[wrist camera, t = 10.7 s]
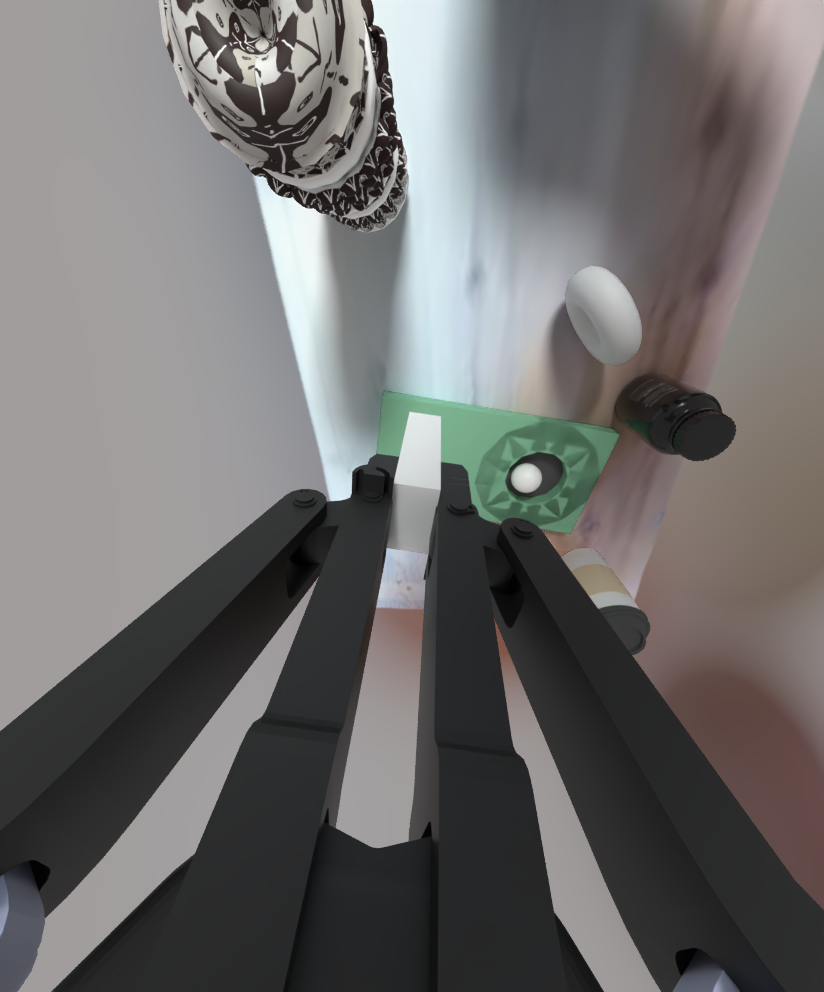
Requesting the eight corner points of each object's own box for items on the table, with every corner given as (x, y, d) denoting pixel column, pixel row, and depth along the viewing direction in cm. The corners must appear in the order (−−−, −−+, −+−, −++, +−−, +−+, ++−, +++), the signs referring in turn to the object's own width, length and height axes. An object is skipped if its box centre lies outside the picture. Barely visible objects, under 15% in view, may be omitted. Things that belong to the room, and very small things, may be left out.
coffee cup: (540, 573, 59) (568, 654, 47) (571, 535, 55) (612, 613, 42) (586, 589, 60) (626, 671, 48) (620, 552, 56) (674, 633, 43)
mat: (384, 390, 44) (382, 395, 43) (613, 428, 45) (620, 434, 43) (373, 495, 53) (371, 502, 51) (566, 525, 54) (570, 533, 52)
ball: (510, 460, 46) (535, 474, 44) (527, 456, 49) (552, 469, 46) (501, 486, 48) (524, 501, 46) (518, 480, 51) (541, 494, 48)
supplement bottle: (610, 430, 45) (660, 474, 35) (617, 377, 42) (675, 409, 32) (668, 422, 44) (736, 466, 34) (680, 367, 41) (760, 397, 31)
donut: (615, 343, 40) (663, 361, 31) (585, 362, 41) (624, 383, 33) (580, 258, 36) (624, 253, 27) (548, 282, 37) (581, 283, 29)
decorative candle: (310, 110, 31) (47, -240, 10) (413, 109, 31) (362, -258, 10) (323, 236, 36) (163, 178, 15) (412, 237, 36) (376, 178, 15)
